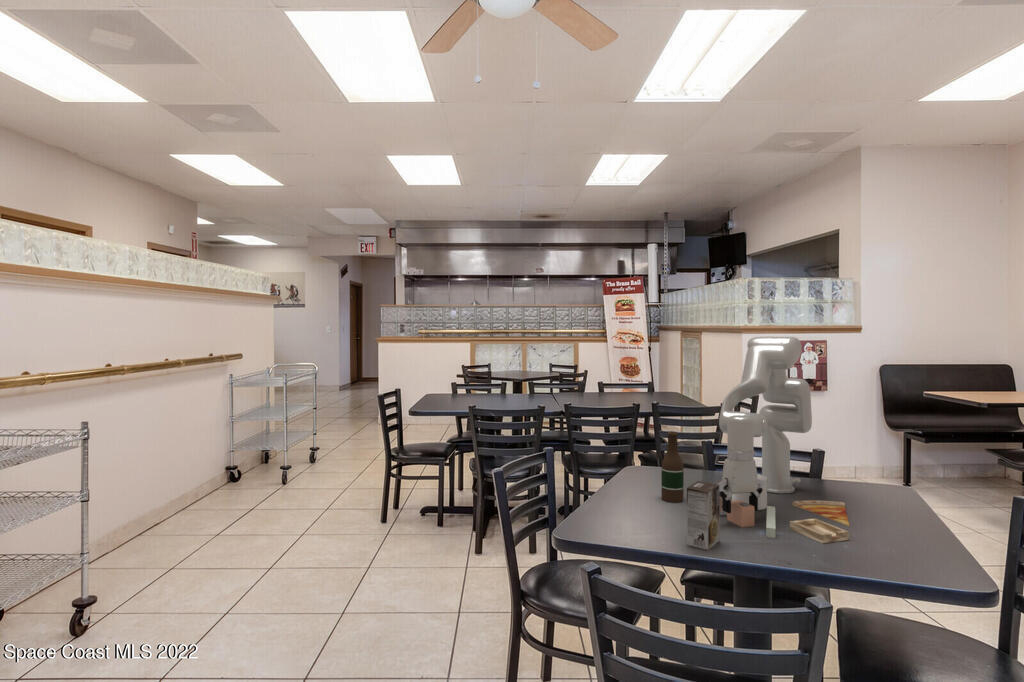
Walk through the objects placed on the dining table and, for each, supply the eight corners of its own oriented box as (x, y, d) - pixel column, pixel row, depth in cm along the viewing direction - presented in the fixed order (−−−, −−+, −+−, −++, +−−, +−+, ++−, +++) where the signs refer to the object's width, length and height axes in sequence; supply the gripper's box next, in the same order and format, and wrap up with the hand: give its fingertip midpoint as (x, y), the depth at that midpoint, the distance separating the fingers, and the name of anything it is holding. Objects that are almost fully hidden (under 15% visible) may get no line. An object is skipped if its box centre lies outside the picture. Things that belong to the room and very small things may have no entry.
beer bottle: (686, 502, 192) (686, 433, 192) (664, 502, 192) (664, 434, 192) (680, 496, 200) (680, 430, 199) (658, 496, 200) (658, 430, 200)
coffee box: (698, 535, 161) (698, 480, 161) (720, 540, 157) (720, 484, 157) (685, 545, 154) (685, 487, 154) (708, 550, 150) (708, 491, 150)
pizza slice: (791, 520, 175) (791, 514, 175) (792, 501, 195) (792, 495, 195) (849, 528, 168) (849, 521, 168) (844, 507, 187) (844, 501, 187)
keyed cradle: (815, 525, 168) (815, 518, 168) (848, 539, 157) (848, 531, 157) (789, 529, 166) (789, 521, 166) (822, 543, 154) (822, 535, 154)
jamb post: (721, 509, 185) (721, 485, 184) (731, 514, 180) (731, 489, 180) (708, 510, 183) (708, 486, 183) (718, 515, 178) (718, 490, 178)
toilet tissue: (762, 512, 181) (762, 482, 181) (725, 505, 188) (725, 476, 188) (770, 504, 190) (770, 475, 190) (733, 498, 197) (733, 470, 197)
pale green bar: (766, 514, 179) (766, 505, 179) (775, 515, 178) (775, 506, 178) (766, 537, 159) (766, 527, 159) (775, 538, 158) (775, 528, 158)
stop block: (739, 518, 176) (739, 497, 176) (754, 525, 169) (754, 504, 169) (727, 519, 175) (726, 499, 174) (741, 527, 168) (741, 505, 168)
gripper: (755, 451, 177) (755, 505, 177) (708, 454, 173) (708, 509, 173) (772, 456, 170) (772, 512, 170) (724, 459, 165) (724, 516, 166)
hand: (740, 510), depth 171 cm, fingers open, 9 cm apart
